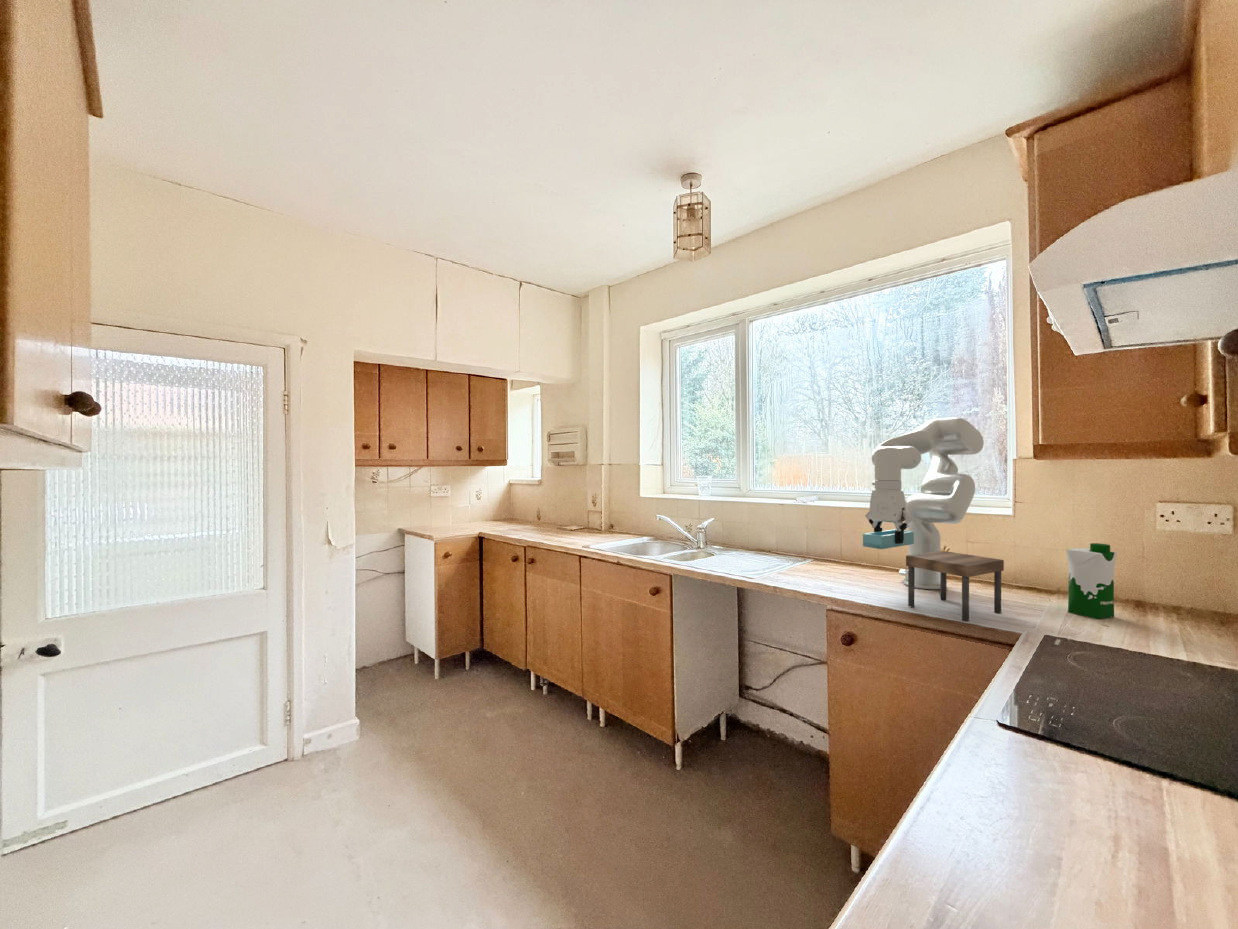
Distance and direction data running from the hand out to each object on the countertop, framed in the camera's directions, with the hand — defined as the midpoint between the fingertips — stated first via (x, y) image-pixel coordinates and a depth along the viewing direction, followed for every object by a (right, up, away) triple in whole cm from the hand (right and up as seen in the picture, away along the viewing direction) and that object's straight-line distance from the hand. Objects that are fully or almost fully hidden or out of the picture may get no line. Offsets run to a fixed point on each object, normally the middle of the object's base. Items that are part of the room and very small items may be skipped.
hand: (888, 541), depth 163 cm
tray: (0, -1, 0) cm, 1 cm away
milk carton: (+46, -18, -20) cm, 53 cm away
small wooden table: (+11, -17, -15) cm, 26 cm away
